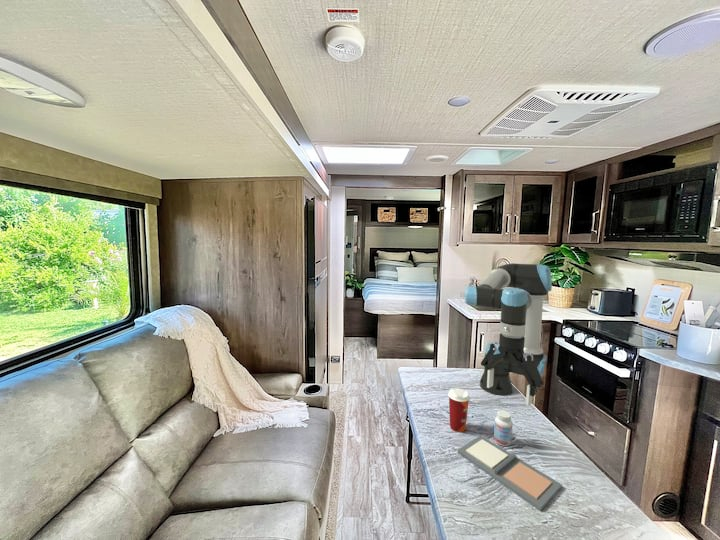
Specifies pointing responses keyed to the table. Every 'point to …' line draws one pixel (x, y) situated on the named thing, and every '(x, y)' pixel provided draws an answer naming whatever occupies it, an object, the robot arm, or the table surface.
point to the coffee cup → (458, 409)
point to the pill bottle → (503, 428)
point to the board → (511, 472)
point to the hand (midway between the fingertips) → (508, 394)
